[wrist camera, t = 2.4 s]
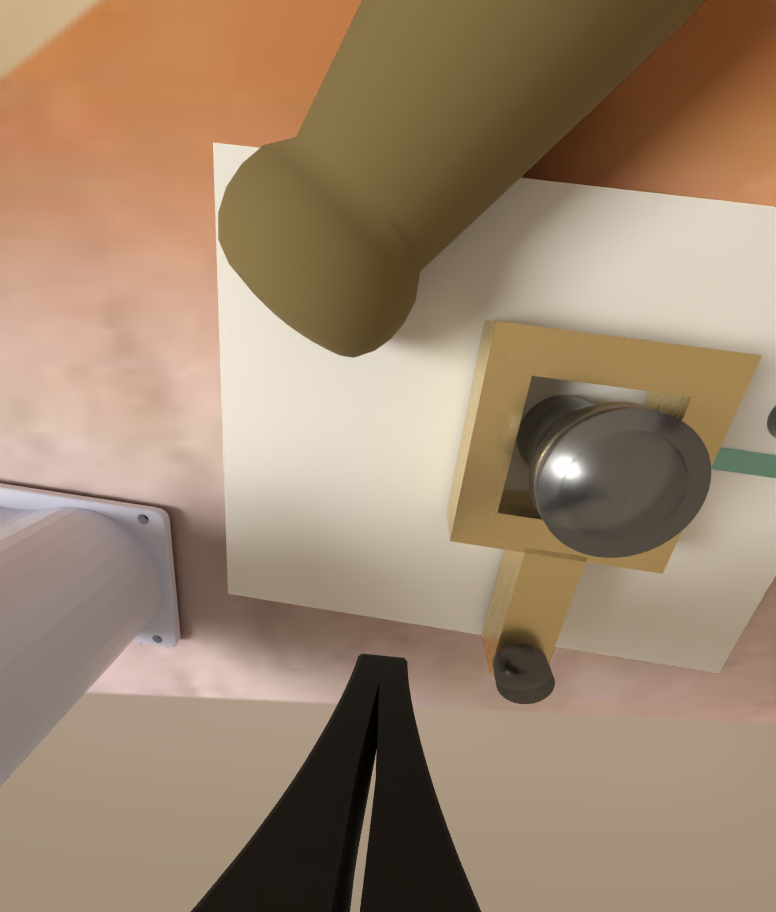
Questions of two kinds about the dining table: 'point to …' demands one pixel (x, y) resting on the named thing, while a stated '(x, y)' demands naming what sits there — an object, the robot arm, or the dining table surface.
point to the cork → (419, 148)
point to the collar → (513, 513)
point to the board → (444, 410)
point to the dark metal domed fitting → (621, 472)
